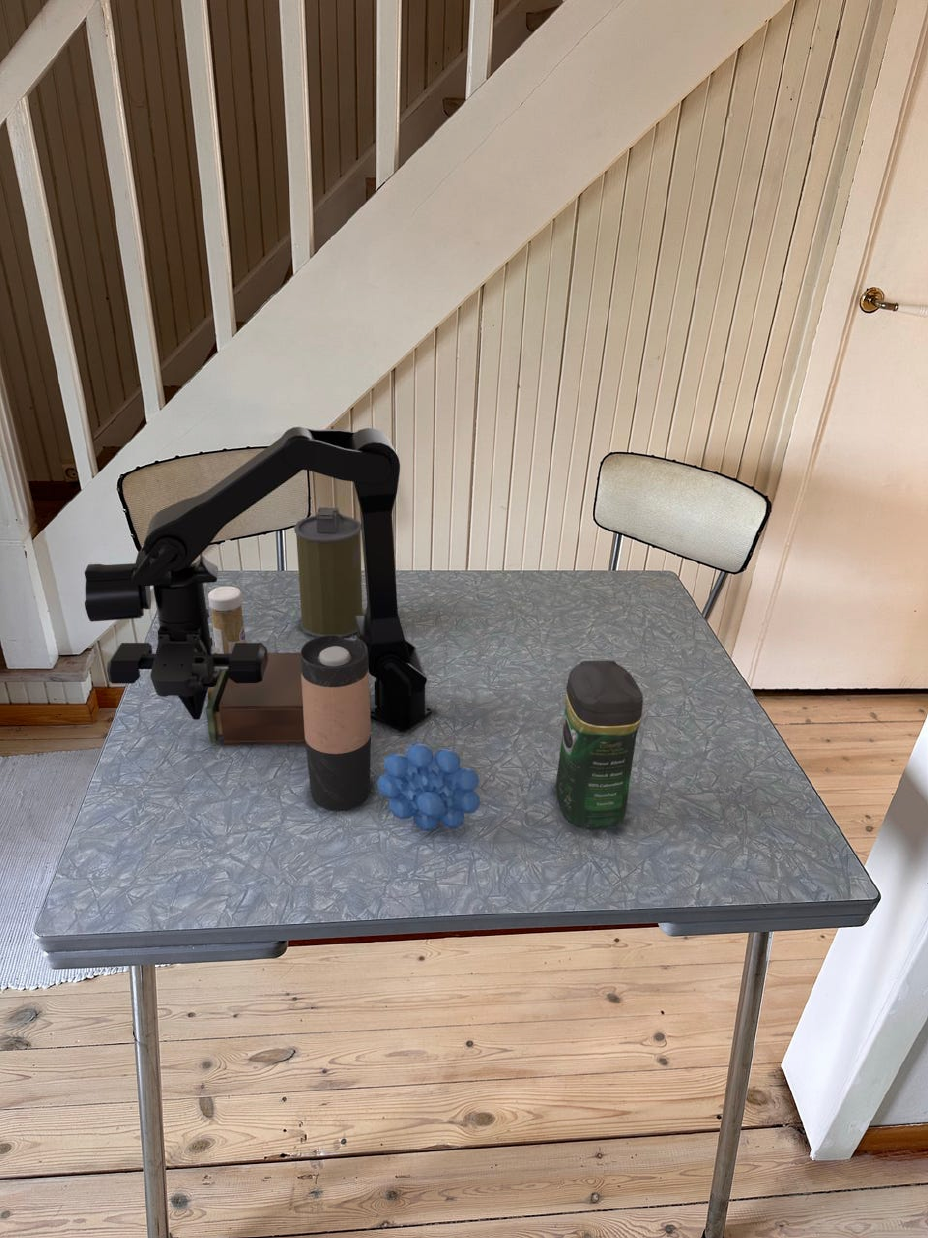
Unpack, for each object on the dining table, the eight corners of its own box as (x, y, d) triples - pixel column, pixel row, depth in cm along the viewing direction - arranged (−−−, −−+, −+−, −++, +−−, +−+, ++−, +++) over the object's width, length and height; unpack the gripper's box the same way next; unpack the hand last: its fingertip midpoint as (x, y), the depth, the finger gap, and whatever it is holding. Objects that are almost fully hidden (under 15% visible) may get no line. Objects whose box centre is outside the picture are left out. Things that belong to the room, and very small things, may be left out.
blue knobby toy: (377, 856, 93) (375, 770, 87) (378, 815, 99) (376, 732, 93) (481, 854, 94) (486, 769, 88) (477, 813, 100) (481, 730, 94)
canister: (360, 640, 135) (356, 524, 125) (295, 638, 135) (287, 521, 125) (367, 608, 144) (365, 498, 135) (307, 606, 144) (300, 496, 135)
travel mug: (321, 820, 98) (312, 674, 88) (300, 782, 104) (289, 641, 94) (382, 801, 101) (379, 659, 91) (358, 765, 107) (354, 628, 97)
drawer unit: (223, 744, 110) (218, 705, 107) (241, 689, 121) (237, 652, 118) (316, 744, 110) (313, 705, 108) (325, 689, 122) (323, 652, 119)
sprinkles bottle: (248, 680, 124) (240, 598, 117) (216, 682, 123) (206, 600, 116) (250, 664, 127) (241, 584, 121) (219, 665, 127) (209, 585, 120)
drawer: (200, 743, 109) (195, 709, 107) (221, 686, 121) (217, 654, 119) (303, 742, 110) (301, 708, 107) (314, 686, 122) (312, 654, 119)
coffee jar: (632, 831, 98) (655, 698, 89) (566, 835, 97) (582, 701, 88) (610, 778, 106) (628, 651, 97) (549, 781, 105) (562, 654, 96)
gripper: (81, 646, 95) (104, 756, 102) (248, 646, 96) (259, 755, 104) (112, 601, 105) (131, 705, 112) (263, 601, 106) (273, 704, 113)
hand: (197, 717), depth 110 cm, fingers closed
